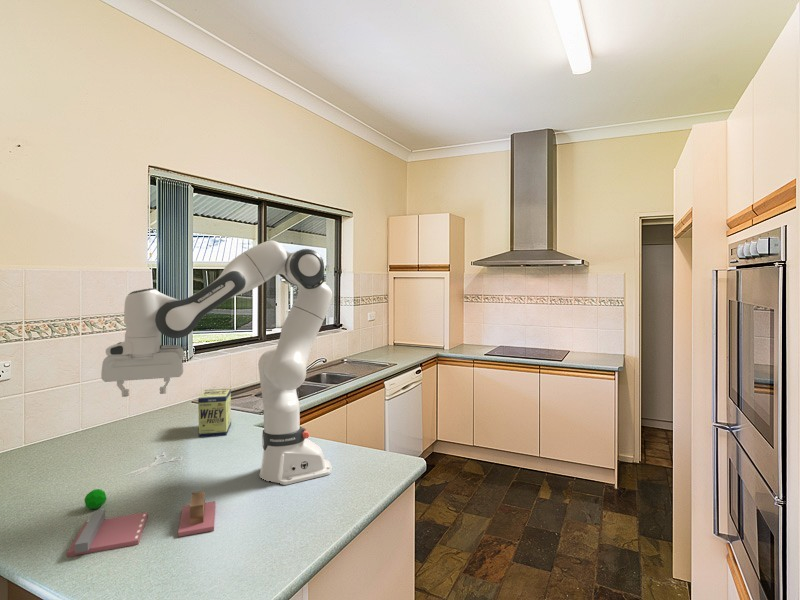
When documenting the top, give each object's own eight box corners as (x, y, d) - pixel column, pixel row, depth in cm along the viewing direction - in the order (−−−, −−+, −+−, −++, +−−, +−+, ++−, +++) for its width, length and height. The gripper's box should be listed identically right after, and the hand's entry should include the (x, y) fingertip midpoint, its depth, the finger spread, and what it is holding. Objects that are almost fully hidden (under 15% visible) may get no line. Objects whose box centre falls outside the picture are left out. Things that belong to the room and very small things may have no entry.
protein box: (198, 437, 182) (197, 398, 181) (205, 425, 197) (204, 389, 196) (226, 435, 184) (226, 396, 183) (231, 423, 199) (230, 387, 199)
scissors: (187, 455, 162) (138, 478, 144) (187, 457, 163) (138, 480, 144) (164, 452, 166) (112, 473, 147) (164, 454, 166) (113, 476, 147)
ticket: (148, 514, 123) (148, 502, 122) (137, 546, 108) (137, 533, 107) (86, 523, 118) (85, 512, 118) (65, 559, 103) (65, 546, 103)
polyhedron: (102, 501, 130) (102, 484, 129) (109, 506, 127) (109, 489, 126) (81, 508, 126) (81, 491, 125) (88, 514, 123) (88, 496, 122)
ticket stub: (215, 504, 127) (214, 484, 127) (213, 530, 114) (213, 508, 114) (183, 509, 124) (182, 489, 124) (178, 536, 111) (177, 514, 111)
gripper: (184, 343, 138) (185, 389, 138) (104, 346, 131) (106, 395, 131) (182, 345, 132) (183, 394, 132) (98, 349, 125) (100, 400, 125)
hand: (144, 394), depth 132 cm, fingers open, 8 cm apart
